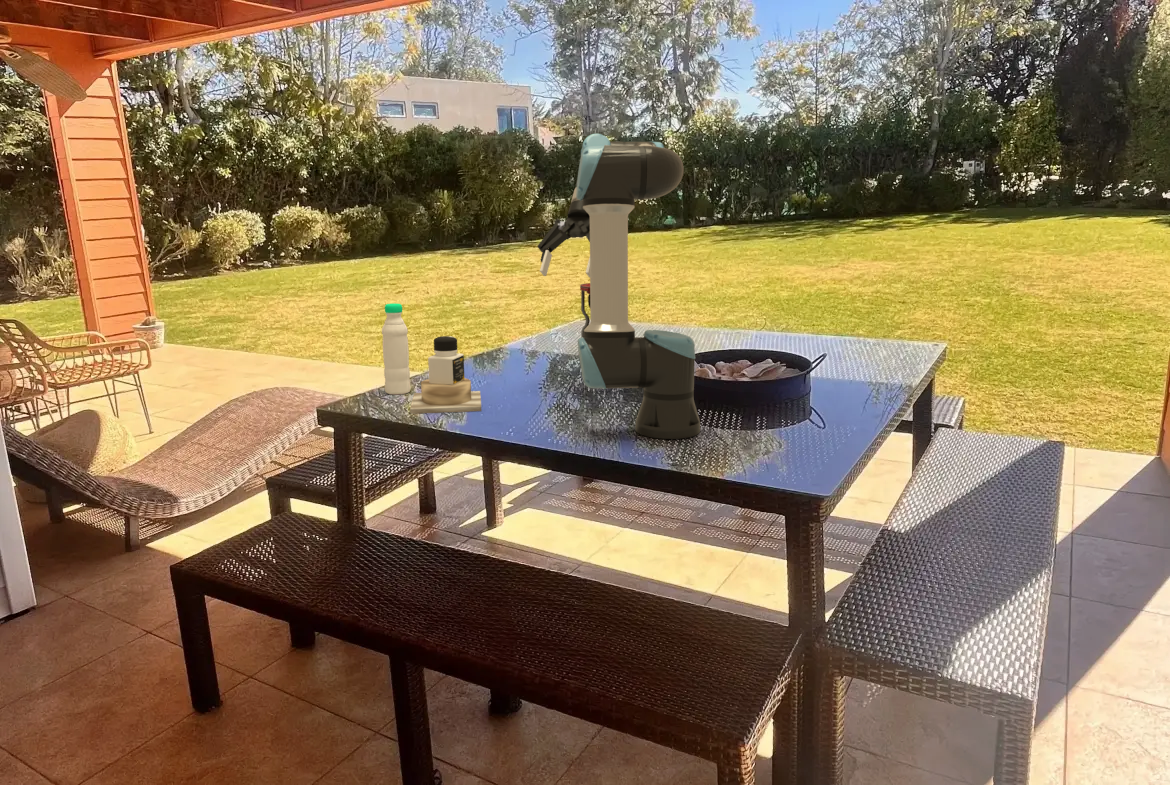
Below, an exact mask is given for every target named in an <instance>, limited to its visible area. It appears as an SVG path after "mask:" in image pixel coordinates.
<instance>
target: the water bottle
mask: <svg viewBox="0 0 1170 785" xmlns="http://www.w3.org/2000/svg"><path fill="white" fill-rule="evenodd" d="M384 313H385V316H386V319H385V320H384V324H383V325H382V328H381V335H382V358H383V365H384V368H383V373H384V374H383V377H384V392H385V393H386V394H388V395H392V396H393V395H395V396H396V395H405V394H409V393H410V391H411V389H412V388H411V380H410V378H411V377H410V375H411V372H410V367H409V365H410V362H409V360H410V354H409V352H410V351H409V340H408V332H409V330H408V327H407V325H406V323H405V321H404V319H403V317H402V314H403V305H402V303H397V302H396V303H395V302H394V303H387V304H384Z"/></svg>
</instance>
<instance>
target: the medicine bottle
mask: <svg viewBox="0 0 1170 785" xmlns="http://www.w3.org/2000/svg"><path fill="white" fill-rule="evenodd" d="M433 352H434V355H430V356H428V358H427V361H428V362H427V363H428V364H427V365H428V379H429V383H430V384H443V385H455V384H457V383H459V382H461V381H463V380H464V379H465V378H466V377H465V358H464V356H465V354H464V353H458V339H457V337H454V336H451V335H446V336H445V335H444V336H438V337H435V338H434V339H433Z"/></svg>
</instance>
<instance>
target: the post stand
mask: <svg viewBox="0 0 1170 785" xmlns="http://www.w3.org/2000/svg"><path fill="white" fill-rule="evenodd" d="M464 378H465V379H464V380H463V381H461V382H459V383H457V384H455V385H443V384H430V383H429V378H428V379H424V380H422V381H421V382H420V387H421V388H420V390H421V391H420V392H414V393H413V396H412V401H411V404H410V406H409V414H412V415H413V414H433V413H434V414H436V413H437V414H440V413H441V414H442V413H465V412H468V413H469V412H482V397H481V390H473V391H472V382H471V381H472V380H470V379H469V378H466V377H464Z"/></svg>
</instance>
